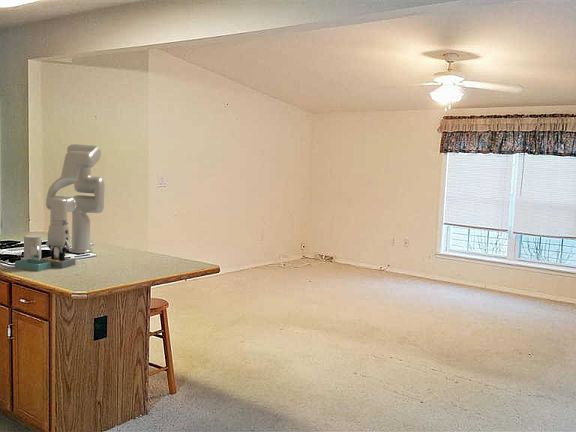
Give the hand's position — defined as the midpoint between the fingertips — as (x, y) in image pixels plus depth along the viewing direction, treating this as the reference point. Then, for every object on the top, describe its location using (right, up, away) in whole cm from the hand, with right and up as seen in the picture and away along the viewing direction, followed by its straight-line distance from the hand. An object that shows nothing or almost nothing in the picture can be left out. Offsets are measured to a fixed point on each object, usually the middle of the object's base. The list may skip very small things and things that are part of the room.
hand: (57, 259), depth 275 cm
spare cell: (-12, -2, +2) cm, 13 cm away
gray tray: (0, -3, 0) cm, 3 cm away
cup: (-17, -1, +10) cm, 20 cm away
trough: (-8, -3, -9) cm, 12 cm away
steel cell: (0, -2, 0) cm, 2 cm away
